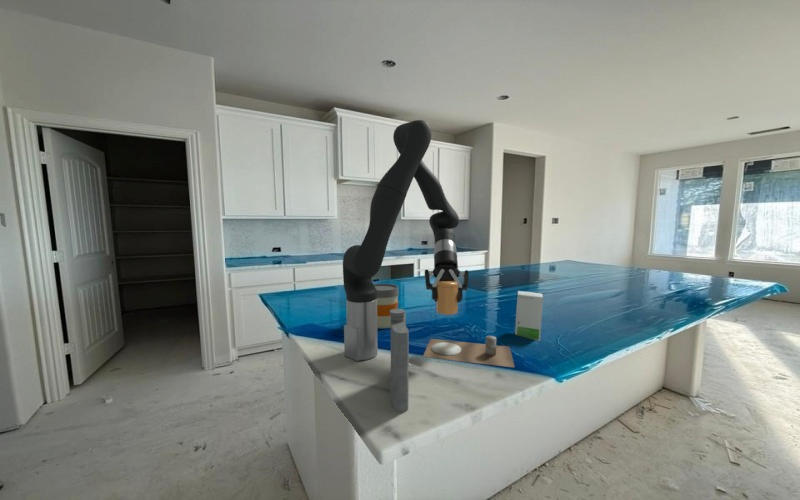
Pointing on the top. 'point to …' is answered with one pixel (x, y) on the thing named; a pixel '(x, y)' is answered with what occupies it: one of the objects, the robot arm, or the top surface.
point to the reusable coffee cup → (386, 303)
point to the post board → (470, 352)
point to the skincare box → (529, 315)
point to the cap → (447, 297)
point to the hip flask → (399, 360)
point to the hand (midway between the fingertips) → (447, 300)
